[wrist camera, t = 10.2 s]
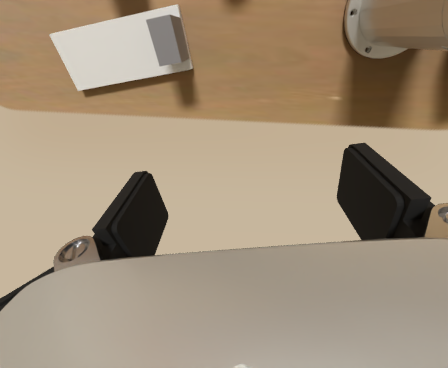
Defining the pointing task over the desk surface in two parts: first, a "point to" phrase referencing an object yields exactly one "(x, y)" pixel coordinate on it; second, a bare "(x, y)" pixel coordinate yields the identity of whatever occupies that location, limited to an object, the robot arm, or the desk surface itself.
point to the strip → (125, 48)
